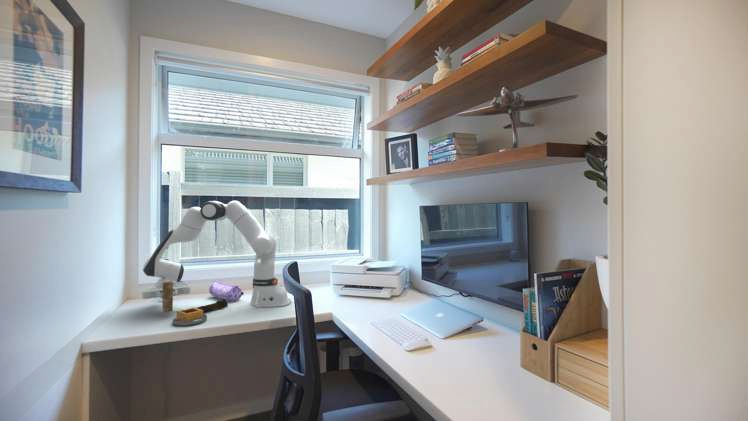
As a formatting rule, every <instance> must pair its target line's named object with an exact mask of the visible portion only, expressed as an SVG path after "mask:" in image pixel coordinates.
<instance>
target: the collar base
mask: <svg viewBox="0 0 748 421" xmlns="http://www.w3.org/2000/svg"><path fill="white" fill-rule="evenodd" d="M207 319H208V316H207V315H206V314H204V312H203V310H201V309H198V308H197V307H191V308H186V309H182V310H177V311H176V317H175V318H173V319H172V321H171V322H172V323H171V324H172V326H174V327H178V328H179V327H182V328H185V327H187V328H188V327H192V326H198V325H202V324H203V323H205V322H206V321H207Z"/></svg>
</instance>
